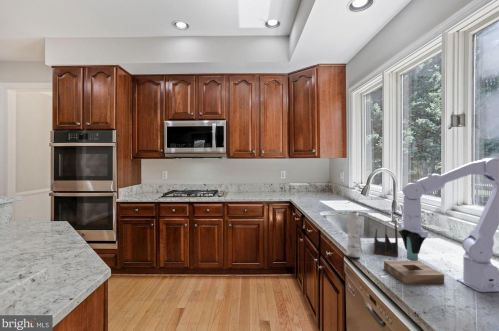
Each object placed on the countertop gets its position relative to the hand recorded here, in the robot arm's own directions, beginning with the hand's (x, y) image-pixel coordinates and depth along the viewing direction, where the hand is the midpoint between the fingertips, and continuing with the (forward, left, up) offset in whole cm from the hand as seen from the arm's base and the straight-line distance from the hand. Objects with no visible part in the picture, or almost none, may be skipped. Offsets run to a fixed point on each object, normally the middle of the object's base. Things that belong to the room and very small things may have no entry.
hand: (412, 251), depth 103 cm
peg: (0, 0, -3) cm, 3 cm away
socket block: (0, 0, -9) cm, 9 cm away
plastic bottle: (+21, +13, -9) cm, 26 cm away
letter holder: (+31, -7, -10) cm, 33 cm away
